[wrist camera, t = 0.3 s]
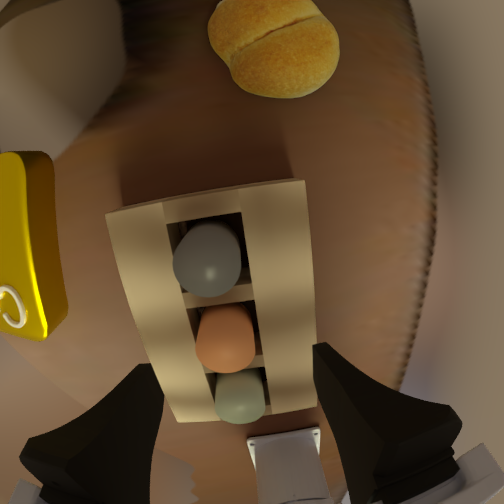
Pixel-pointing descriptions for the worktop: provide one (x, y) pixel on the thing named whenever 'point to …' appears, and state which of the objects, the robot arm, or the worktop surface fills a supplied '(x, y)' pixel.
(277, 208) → the button panel
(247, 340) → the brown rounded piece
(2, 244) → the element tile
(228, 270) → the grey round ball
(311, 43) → the bread roll
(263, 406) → the sage button
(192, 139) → the worktop surface
